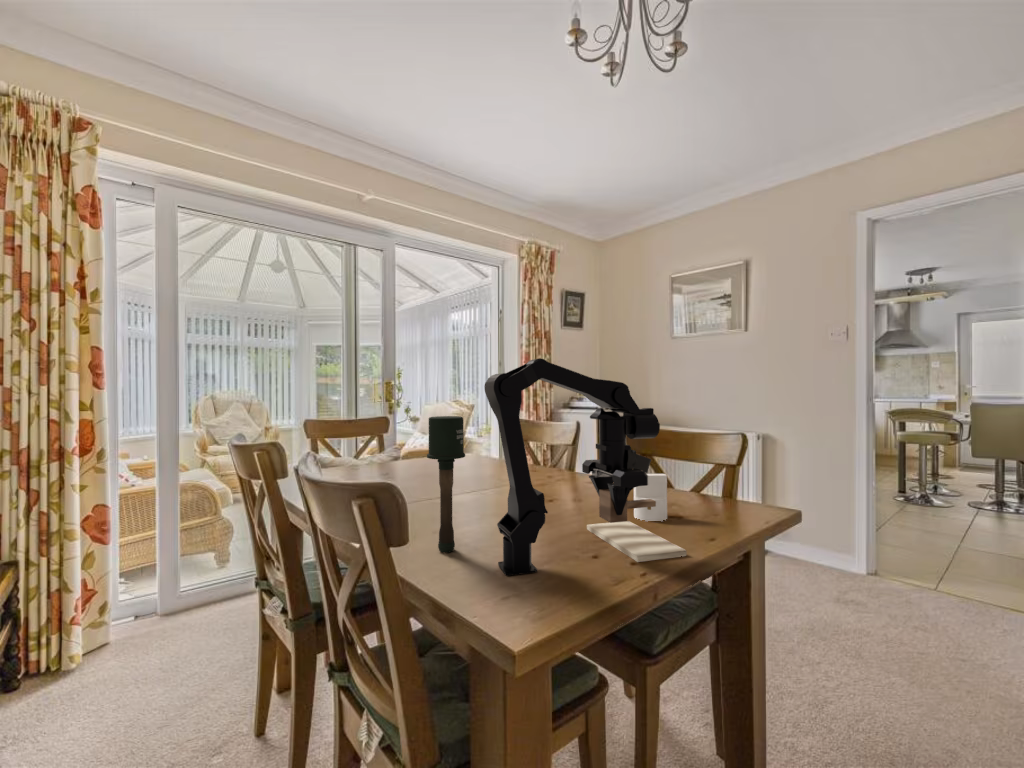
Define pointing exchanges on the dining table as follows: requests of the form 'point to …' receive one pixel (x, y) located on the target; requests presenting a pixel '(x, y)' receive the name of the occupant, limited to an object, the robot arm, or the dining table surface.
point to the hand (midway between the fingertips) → (612, 511)
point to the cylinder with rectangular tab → (655, 492)
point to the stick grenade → (446, 468)
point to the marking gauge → (609, 512)
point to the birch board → (636, 541)
